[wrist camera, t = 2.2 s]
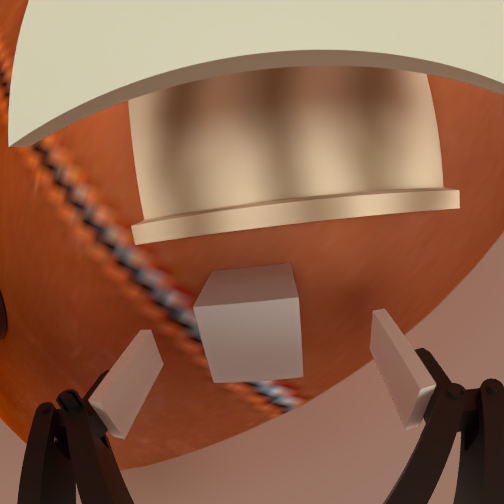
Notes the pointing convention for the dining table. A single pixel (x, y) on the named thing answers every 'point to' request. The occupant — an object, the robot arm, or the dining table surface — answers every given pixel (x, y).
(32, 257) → the dining table surface
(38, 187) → the dining table surface
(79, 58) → the flap
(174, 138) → the stand
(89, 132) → the dining table surface
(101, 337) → the dining table surface
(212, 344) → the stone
